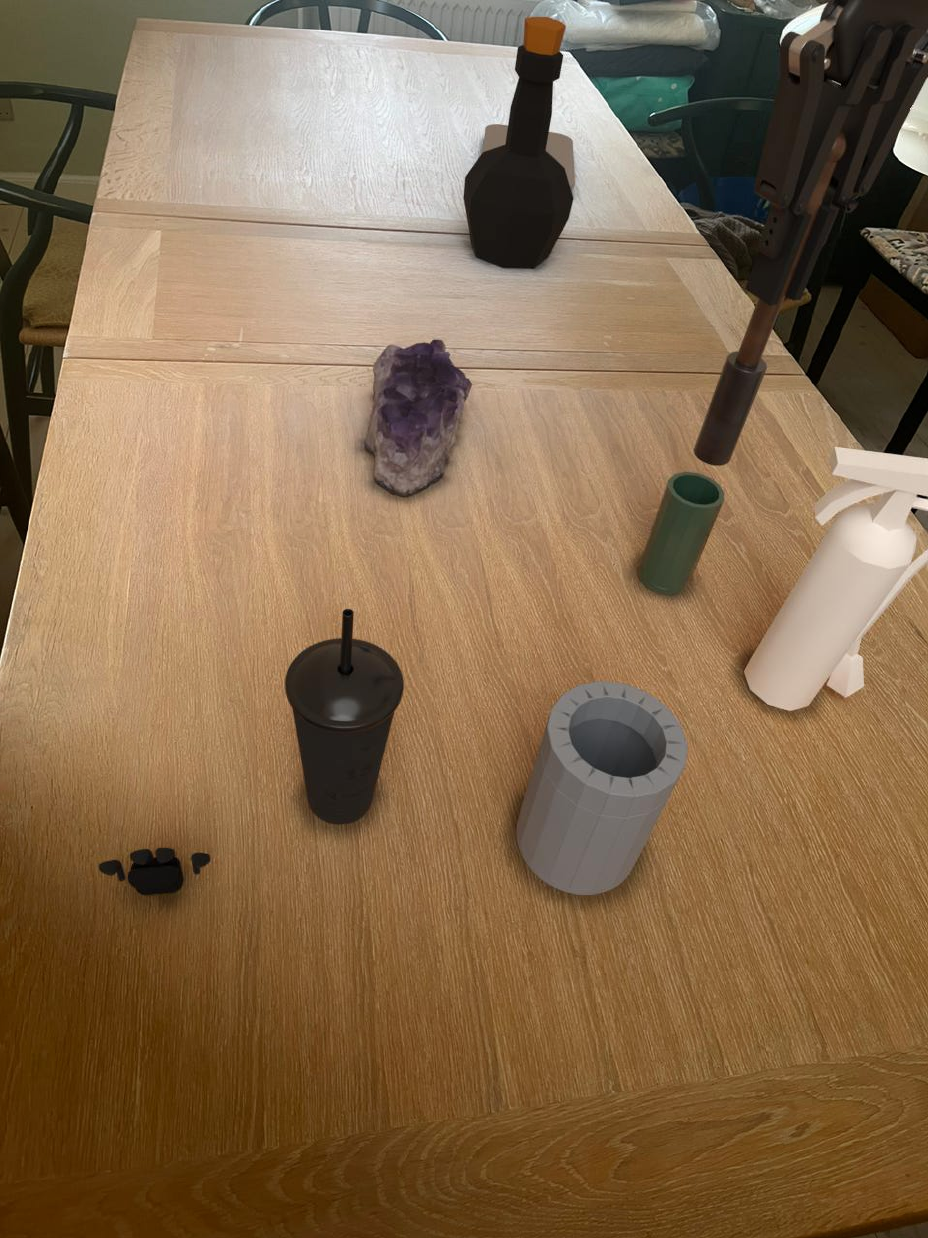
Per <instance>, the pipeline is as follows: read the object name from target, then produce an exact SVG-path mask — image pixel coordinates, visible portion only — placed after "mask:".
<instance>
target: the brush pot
mask: <svg viewBox="0 0 928 1238" xmlns="http://www.w3.org/2000/svg"><path fill="white" fill-rule="evenodd" d="M724 502H725V491H724V489H723V487H722V486H721V485H720V484H719V483H718V482H717V481H715V480H714V479H712V478H711V477H709V476H707V475H704V474H702V473H700V472H693V471H692V472H691V471H682V472H676V473H675V474H673V475H672V476H671V477H669V478H668V480H667V483H666V485H665V488H664V491H663V494H662V496H661V500H660V502H659V506H658V508H657V511H656V514H655V517H654V519H653V522H652V525H651V528H650V531H649V534H648V537H647V538H646V541H645V545H644V548H643V550H642V554H641V557H640V560H639V563H638V566H637V571H636V573H637V574H636V575H637V577H638V579H639V582H641V584H642V585H643V586H645V588H646V589H648V590H650V591H652V592H654V593H657V594H660V595H664V596H676V595H679V594H681V593H683V592H685V591H687V589H688V588H689V585H690V583H691V581H692V579H693V577H694V574H695V573H696V570H697V566H698V564H699V562H700V560H701V557H702V555H703V552H704V550H705V547H706V545H707V543H708V540H709V539H710V536H711V533H712V531H713V528H714V525H715V523H716V521H717V518H718V516H719V514H720V511H721V509H722V507H723V504H724Z"/></svg>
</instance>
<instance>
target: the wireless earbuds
mask: <svg viewBox="0 0 928 1238" xmlns="http://www.w3.org/2000/svg"><path fill="white" fill-rule="evenodd" d="M154 855H155V856H154ZM129 859H130V861H131V862H132V864H131V866H130V869H129V871H128V872H127V877H126V875H125V871H124V867H123V864H122V862H121V860H119V859H111V860H106V861H101V863H99V864H98V870H99V872H101V873H102V874H103V875H106V876H110V877H111V876H114V875H117V879H118V881H119V882H121V883H122V882H125V880H126V878H127V882H128V884H129V885H130V886H131V887H132V888H134V889H135V891H136V892H137V893H138V894H140V895H141V896H153V895H163V894H173V893H176V892H178V891H179V890H181V889H182V887H183V885H184V882H185V881H184V874H183V868H182V863H181V860H180V859H179V858H178V857H177V856H176V852H175V849H173V848H170V847H157V848H156V849H155V851H154V854H153V851H152V850H151V849H149V848H143V849H136V850H134V851H131V852H130V854H129ZM190 860H191V865H192V866H191V867H192V872H193V874H194V875H195V876H198V875H200V873H201V868H203V867H205V866H207V865H208V864H209V863H211V854H210V853H205V852H194V853H192V854H191V857H190Z"/></svg>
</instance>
